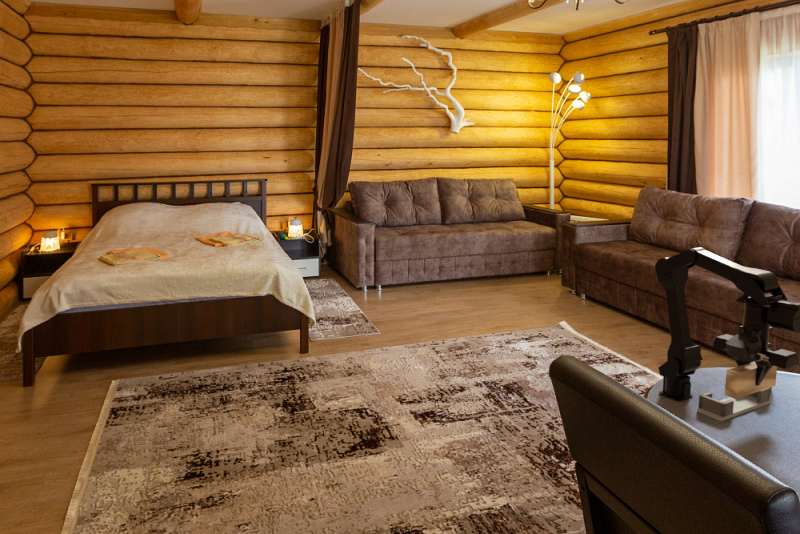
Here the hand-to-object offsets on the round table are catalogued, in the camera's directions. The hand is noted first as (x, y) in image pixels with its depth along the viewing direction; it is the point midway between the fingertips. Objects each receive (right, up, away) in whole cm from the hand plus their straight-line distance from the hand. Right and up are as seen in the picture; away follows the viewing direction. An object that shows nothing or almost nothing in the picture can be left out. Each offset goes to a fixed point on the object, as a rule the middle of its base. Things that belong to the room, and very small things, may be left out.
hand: (750, 383), depth 155 cm
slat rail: (+2, -9, +12) cm, 15 cm away
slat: (0, -2, 0) cm, 2 cm away
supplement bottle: (+16, -6, +24) cm, 29 cm away
